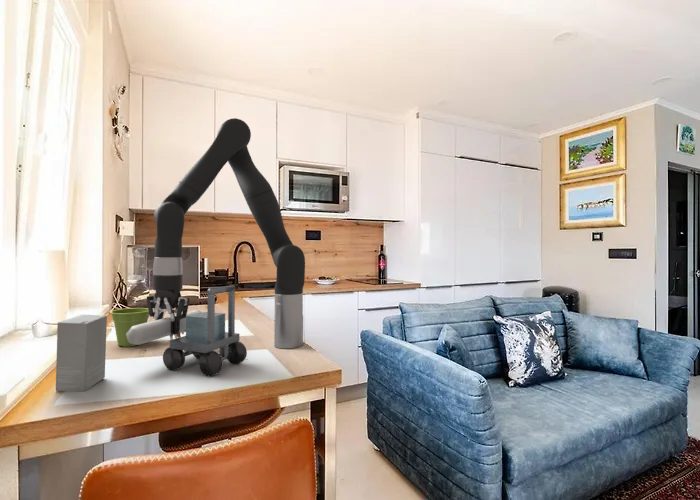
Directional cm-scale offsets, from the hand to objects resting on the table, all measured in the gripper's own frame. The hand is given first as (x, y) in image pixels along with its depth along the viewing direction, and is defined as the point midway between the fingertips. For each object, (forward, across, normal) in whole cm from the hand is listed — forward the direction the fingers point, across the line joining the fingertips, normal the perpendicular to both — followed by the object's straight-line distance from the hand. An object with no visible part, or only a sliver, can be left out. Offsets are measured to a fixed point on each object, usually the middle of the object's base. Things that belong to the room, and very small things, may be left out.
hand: (167, 332), depth 103 cm
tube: (+1, 0, 0) cm, 1 cm away
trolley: (+8, -14, 0) cm, 16 cm away
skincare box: (+8, +3, +21) cm, 23 cm away
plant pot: (+8, +25, -9) cm, 28 cm away
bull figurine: (+8, +13, -21) cm, 26 cm away
